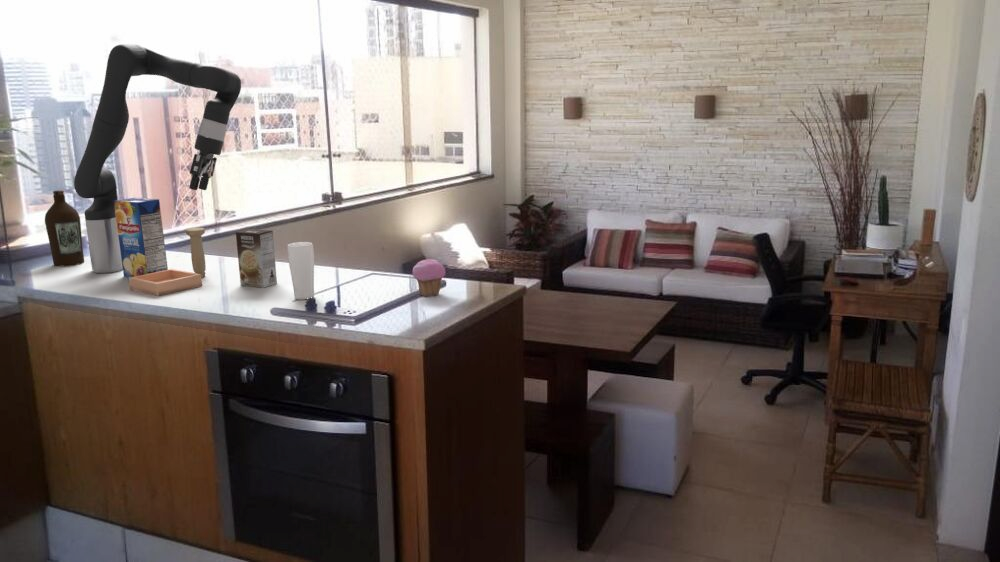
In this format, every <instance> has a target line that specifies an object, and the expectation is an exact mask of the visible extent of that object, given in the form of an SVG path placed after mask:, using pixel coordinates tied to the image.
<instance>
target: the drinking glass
mask: <svg viewBox="0 0 1000 562" xmlns="http://www.w3.org/2000/svg"><path fill="white" fill-rule="evenodd" d="M287 257H288V266H289V270H290V276H291V282H292V286H293V287H292V288H293V297H294V299H296V300H298V301H306V300H305V299H307V298H311V297H313V298H314V297H315V258H314V257H315V253H314V245H313V242H309V241H296V242H292V243H289V244H287ZM311 299H312V298H311ZM307 300H308V299H307Z"/></svg>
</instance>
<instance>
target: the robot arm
mask: <svg viewBox="0 0 1000 562" xmlns="http://www.w3.org/2000/svg"><path fill="white" fill-rule="evenodd" d="M142 75H143V76H144V75H145V76H146V75H147V76H158V77H164V78H166V79H168V80H171V81H173V82H175V83H178V84H180V85H184V86H188V87H191V88H195V89H205V90H209V91H212V92H216V94H215V96H214V98H213V99H210V100H208V101H207V102H206V104H205V107H204V111H203V115H202V118H201V122H200V123H199V126H198V132H197V135H196V138H195V142H194V143H195V144H194V149H195V150H197V151H199V153H194V154H193V159H192V163H191V166H190V170H189V174H190V175H191V180H190V184H189V189H190V190H193V191H198V189H199V190H203V191H207V189H208V184H209V181H210V180H211V178H212V177H213V176H214V173H215V169H216V168H215V167H216V164H217V161H218V159H217V157H216V156H220V155H222V154H221V153H222V150H223V147H224V142H225V138H226V134H227V127H228V123H229V119H230V113H231V111H232V109H233V107H234V105H235V104H236V102H237V100H238V98H239V96H240V94H241V93H240V92H241V89H242V81H241V78H240V76H239V75H238V74H236V73H235V72H232V71H230V70H227V69H225V68H223V67H219V66H211V65H204V64H200V63H197V62H193V61H189V60H185V59H179V58H175V57H170V56H166V55H163V54H161V53H158V52H155V51H153V50H152V49H149V48H146V47H144V46H142V45H140V44H132V43H131V44H130V43H129V44H118V45H115V46H114V47H112V49H110V51H109V54H108V58H107V62H106V69H105V75H104V83H103V87H102V90H101V94H100V98H99V103H98V105H97V109H96V112H95V116H94V119H93V123H92V127H91V130H90V131H91V132H90V134H89V137H88V140H87V144H86V147H85V150H84V153H83V156H82V158H81V160H80V163H79V164H78V167H77V169H76V172H75V175H74V179H73V180H74V181H73V187H74V190H75V193H76V194H77V196H79V197H80V198H83V199H93V201H92V204H91V205H90V206H89V207H88V208H87V209H85V211H84V218H85V219H84V220H85V227H86V232H87V233H86V234H87V239H88V240H87V241H88V242H87V244H88V249H89V250H88V251H89V257H90V265H91V270H92V273H96V274H105V273H106V274H108V273H114V272H116V273H117V272H118V271H119V272H120V271H123V266H122V259H121V252H120V244H119V237H118V230H117V222H116V215H115V208H114V201H115V200H118V193H117V192H118V191H117V190H118V188H117V182H116V178H115V176H114V174H113V172H112V171H111V170H110V169H109V168H106V167H104V165H105V163H106V161H107V159H108V158H109V157H110V156H111V154H112V153H113V152H114V151H115V149H117V148H118V146H119V145H120V143H122V141H123V140H124V137H125V134H126V131H127V128H128V124H129V120H130V113H129V107H128V104H127V98H126V97H127V90H128V86H129V83H130V81H131V78H132V77H139V76H142ZM214 155H215V156H214Z"/></svg>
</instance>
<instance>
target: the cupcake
mask: <svg viewBox="0 0 1000 562" xmlns="http://www.w3.org/2000/svg"><path fill="white" fill-rule="evenodd" d="M445 276H446V268H445V266H444V265H443V264H442V263H441V262H439V261H438V260H436V259H434V258H432V259H431V258H427V259H423V260H420V261H418V262H417V263H416V264H415V265H414V266H413V268H412V277H413V278H414V279H416V280H417V283H418V284H417V285H418V292H419V294H420V295H421V296H423V297H429V296H438V295H439V293H440V290H441V284H442V280H443V278H444V277H445Z"/></svg>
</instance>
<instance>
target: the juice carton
mask: <svg viewBox="0 0 1000 562" xmlns="http://www.w3.org/2000/svg"><path fill="white" fill-rule="evenodd" d="M114 208H115V215H116V222H117V230H118V237H119V244H120V252H121V259H122V266H123V270H122V273H123V277H124V278H131V277H135V276H140V275H145V274H150V273H155V272H160V271H164V270H169V269H168V261H167V260H168V259H167V253H166V252H167V251H166V244H165V236H164V235H165V234H164V228H163V219H162V211H161V203H160V198H146V197H145V198H143V197H129V198H123V199H117V200H115V201H114Z"/></svg>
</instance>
